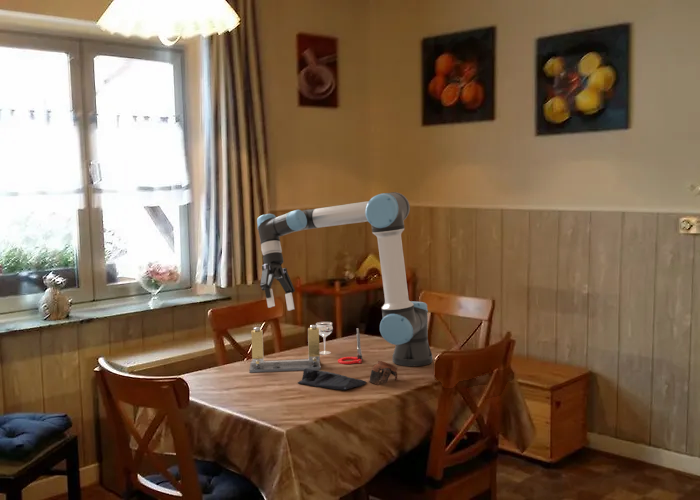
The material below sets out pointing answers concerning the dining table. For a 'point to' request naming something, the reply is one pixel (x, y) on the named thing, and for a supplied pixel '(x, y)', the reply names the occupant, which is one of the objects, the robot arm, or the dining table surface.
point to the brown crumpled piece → (384, 375)
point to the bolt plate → (297, 363)
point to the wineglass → (324, 332)
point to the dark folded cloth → (329, 380)
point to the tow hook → (356, 359)
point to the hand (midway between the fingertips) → (281, 308)
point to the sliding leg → (257, 346)
